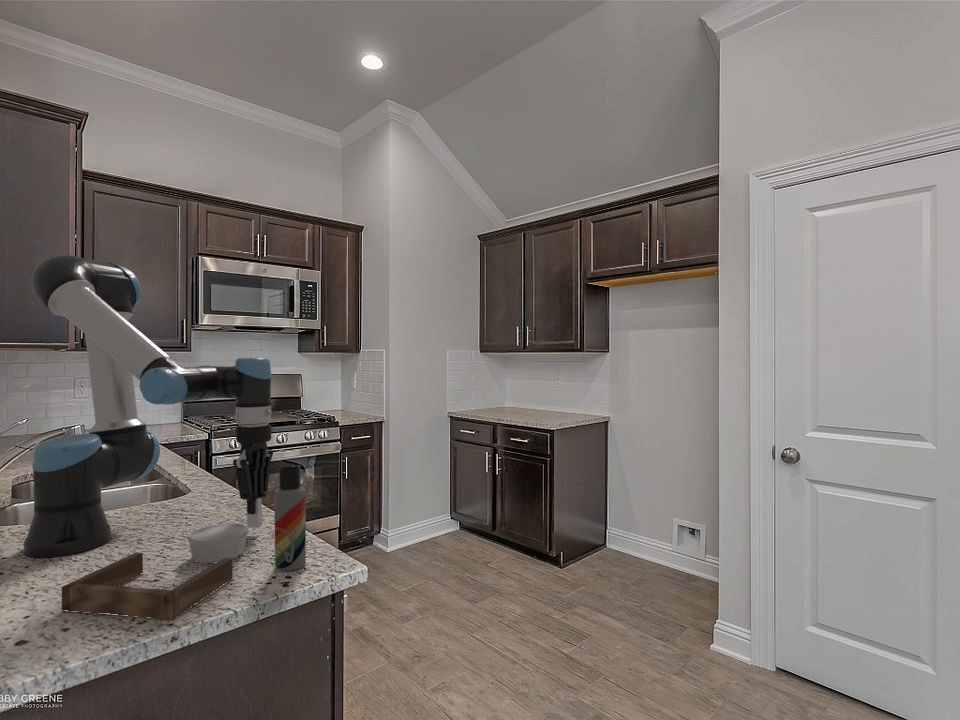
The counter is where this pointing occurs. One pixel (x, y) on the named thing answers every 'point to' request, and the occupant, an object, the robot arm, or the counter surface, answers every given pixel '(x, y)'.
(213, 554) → the ramekin
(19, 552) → the counter surface
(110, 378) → the robot arm
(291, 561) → the lotion bottle
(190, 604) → the walnut box
